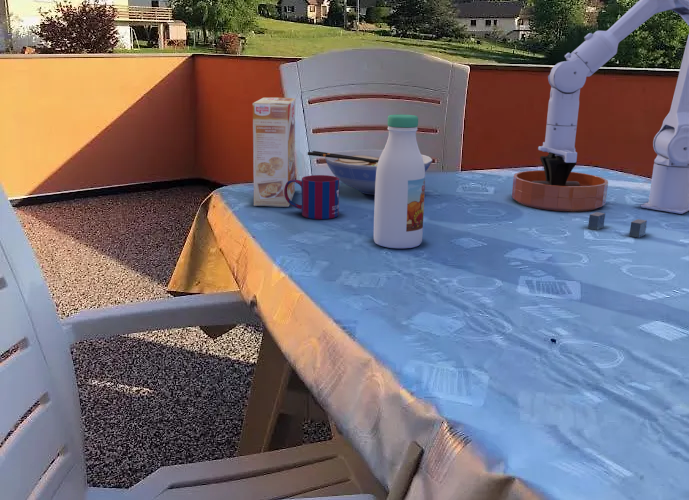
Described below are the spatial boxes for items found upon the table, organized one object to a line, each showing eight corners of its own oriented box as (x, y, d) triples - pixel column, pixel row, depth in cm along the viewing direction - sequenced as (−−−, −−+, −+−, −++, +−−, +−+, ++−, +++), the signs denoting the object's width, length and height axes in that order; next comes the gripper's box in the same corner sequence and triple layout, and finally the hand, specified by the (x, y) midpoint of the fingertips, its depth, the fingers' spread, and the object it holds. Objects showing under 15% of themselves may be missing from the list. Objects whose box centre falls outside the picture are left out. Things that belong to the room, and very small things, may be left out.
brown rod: (531, 189, 141) (532, 181, 141) (528, 187, 143) (529, 180, 142) (580, 190, 142) (581, 182, 141) (577, 188, 143) (578, 180, 143)
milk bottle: (389, 252, 107) (394, 118, 102) (364, 239, 114) (368, 113, 108) (431, 246, 111) (439, 117, 105) (405, 234, 117) (410, 112, 112)
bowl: (537, 189, 157) (539, 167, 155) (619, 202, 145) (622, 178, 144) (494, 201, 144) (496, 177, 142) (581, 217, 132) (584, 190, 130)
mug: (332, 220, 125) (333, 182, 124) (279, 216, 128) (279, 179, 126) (342, 212, 132) (343, 176, 130) (291, 208, 134) (291, 172, 132)
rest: (587, 228, 124) (589, 214, 123) (594, 225, 126) (596, 211, 125) (638, 238, 118) (640, 223, 117) (645, 234, 120) (647, 220, 120)
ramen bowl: (453, 190, 154) (455, 152, 152) (403, 209, 135) (405, 166, 133) (355, 177, 167) (356, 142, 164) (297, 193, 148) (297, 154, 146)
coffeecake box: (289, 207, 135) (289, 103, 129) (252, 206, 135) (250, 102, 130) (296, 191, 149) (296, 97, 144) (262, 190, 149) (261, 96, 144)
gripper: (530, 120, 145) (524, 185, 149) (553, 128, 131) (546, 200, 135) (564, 120, 146) (557, 185, 149) (591, 129, 132) (582, 200, 135)
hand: (554, 192), depth 142 cm, fingers closed on brown rod, 1 cm apart
